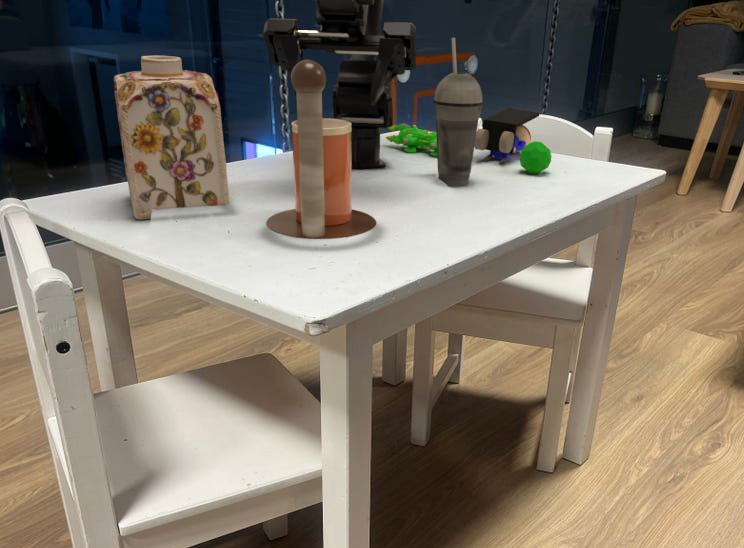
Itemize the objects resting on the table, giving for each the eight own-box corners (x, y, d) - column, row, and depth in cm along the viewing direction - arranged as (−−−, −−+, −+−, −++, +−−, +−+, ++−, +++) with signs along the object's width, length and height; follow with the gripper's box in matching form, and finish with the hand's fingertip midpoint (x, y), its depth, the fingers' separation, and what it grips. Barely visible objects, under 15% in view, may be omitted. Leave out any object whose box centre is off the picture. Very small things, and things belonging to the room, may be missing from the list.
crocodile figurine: (464, 162, 122) (466, 136, 120) (377, 148, 131) (377, 123, 129) (483, 156, 127) (485, 130, 125) (398, 142, 135) (398, 118, 133)
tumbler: (291, 211, 89) (287, 118, 84) (346, 208, 91) (345, 117, 86) (299, 227, 83) (295, 129, 78) (357, 224, 85) (357, 127, 80)
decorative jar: (129, 197, 97) (107, 52, 89) (216, 191, 101) (204, 52, 93) (134, 221, 88) (110, 62, 79) (231, 214, 91) (218, 61, 83)
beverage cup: (474, 190, 105) (485, 40, 96) (425, 186, 107) (431, 38, 97) (479, 178, 112) (490, 37, 102) (433, 175, 113) (439, 35, 104)
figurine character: (507, 175, 120) (538, 150, 131) (510, 129, 116) (541, 107, 127) (470, 170, 123) (503, 145, 134) (472, 125, 119) (505, 103, 130)
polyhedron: (515, 169, 118) (518, 139, 116) (544, 169, 119) (548, 139, 116) (522, 176, 114) (525, 145, 112) (552, 176, 114) (556, 145, 112)
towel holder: (280, 213, 92) (272, 48, 83) (382, 218, 91) (384, 52, 82) (253, 246, 80) (239, 59, 72) (368, 252, 80) (369, 63, 71)
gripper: (261, -57, 86) (243, 51, 81) (418, -53, 85) (409, 57, 80) (280, 14, 96) (265, 113, 92) (419, 18, 95) (411, 119, 91)
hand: (335, 100), depth 88 cm, fingers open, 9 cm apart
